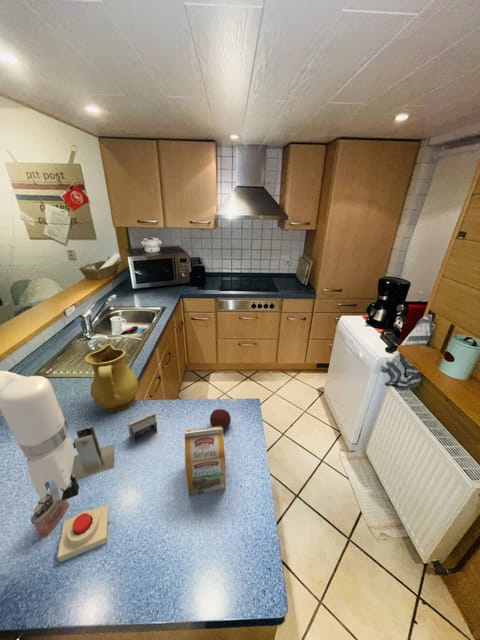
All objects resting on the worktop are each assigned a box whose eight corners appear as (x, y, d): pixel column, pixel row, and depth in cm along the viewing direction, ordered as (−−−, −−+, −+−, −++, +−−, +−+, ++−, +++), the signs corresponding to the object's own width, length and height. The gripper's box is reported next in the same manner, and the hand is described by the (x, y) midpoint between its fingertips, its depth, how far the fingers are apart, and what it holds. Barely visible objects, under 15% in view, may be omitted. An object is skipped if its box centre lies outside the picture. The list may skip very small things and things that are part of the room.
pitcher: (149, 389, 111) (137, 341, 100) (125, 423, 95) (107, 371, 84) (114, 385, 114) (99, 338, 103) (85, 417, 98) (63, 366, 86)
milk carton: (221, 457, 82) (221, 413, 74) (225, 489, 73) (225, 444, 65) (189, 461, 81) (184, 418, 73) (188, 496, 71) (183, 450, 63)
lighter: (48, 541, 61) (35, 517, 57) (36, 538, 62) (22, 514, 57) (74, 506, 68) (64, 482, 64) (63, 503, 69) (52, 480, 65)
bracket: (69, 484, 74) (56, 452, 68) (74, 458, 81) (62, 427, 75) (114, 469, 78) (105, 438, 72) (115, 446, 85) (107, 416, 80)
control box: (59, 562, 58) (54, 553, 56) (66, 525, 64) (62, 516, 63) (107, 542, 61) (104, 533, 60) (109, 508, 68) (106, 500, 66)
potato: (212, 418, 97) (211, 404, 94) (231, 419, 97) (231, 405, 94) (208, 433, 91) (207, 419, 88) (229, 435, 90) (229, 421, 87)
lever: (52, 472, 73) (42, 467, 71) (55, 462, 76) (45, 458, 74) (92, 440, 74) (84, 436, 72) (93, 432, 77) (85, 427, 75)
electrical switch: (155, 425, 94) (153, 408, 89) (161, 435, 90) (158, 418, 86) (129, 437, 89) (125, 420, 84) (134, 449, 85) (130, 431, 81)
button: (73, 536, 59) (71, 532, 58) (75, 520, 62) (73, 516, 61) (90, 530, 60) (88, 526, 60) (92, 514, 63) (90, 510, 63)
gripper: (32, 414, 53) (58, 470, 61) (5, 478, 41) (41, 539, 49) (73, 404, 56) (93, 459, 64) (59, 462, 44) (85, 522, 51)
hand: (70, 494), depth 56 cm, fingers closed
